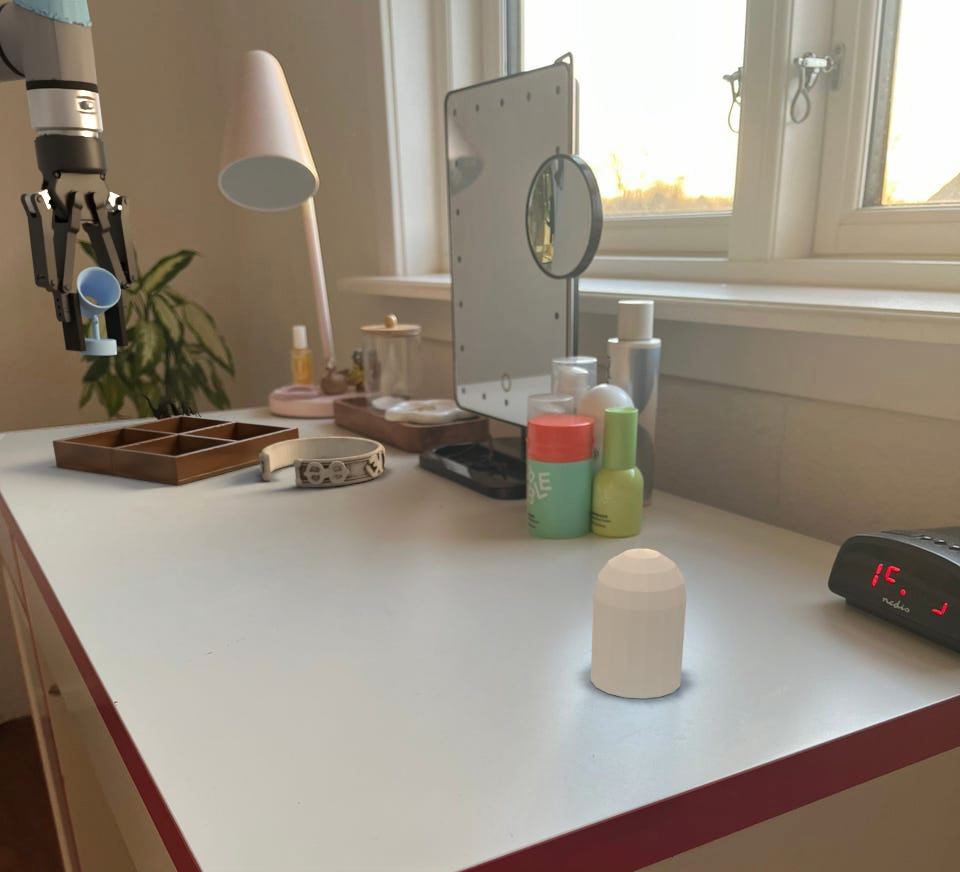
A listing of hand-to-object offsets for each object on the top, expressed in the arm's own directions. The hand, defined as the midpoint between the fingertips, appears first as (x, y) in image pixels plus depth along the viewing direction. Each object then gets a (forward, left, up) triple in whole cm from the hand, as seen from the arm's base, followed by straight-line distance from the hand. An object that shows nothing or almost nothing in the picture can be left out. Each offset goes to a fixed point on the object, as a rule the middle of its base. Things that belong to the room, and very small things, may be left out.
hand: (97, 347), depth 124 cm
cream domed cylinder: (+85, -34, -12) cm, 92 cm away
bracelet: (+33, +1, -12) cm, 35 cm away
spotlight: (0, 0, -1) cm, 1 cm away
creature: (-4, +15, -12) cm, 20 cm away
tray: (+13, -1, -12) cm, 18 cm away
